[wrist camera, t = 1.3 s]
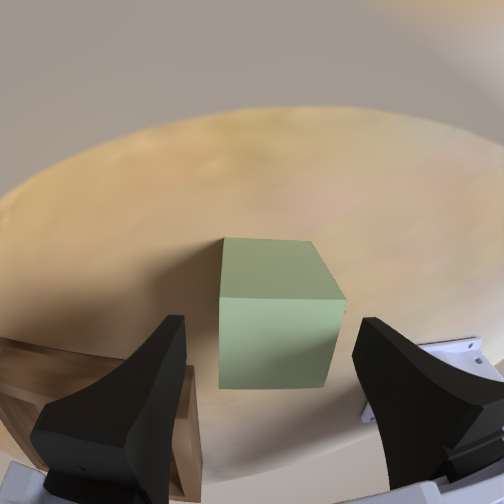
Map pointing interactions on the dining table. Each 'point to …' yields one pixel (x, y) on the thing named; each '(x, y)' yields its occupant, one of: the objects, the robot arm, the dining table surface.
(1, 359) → the walnut crate
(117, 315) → the dining table surface
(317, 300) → the green block
